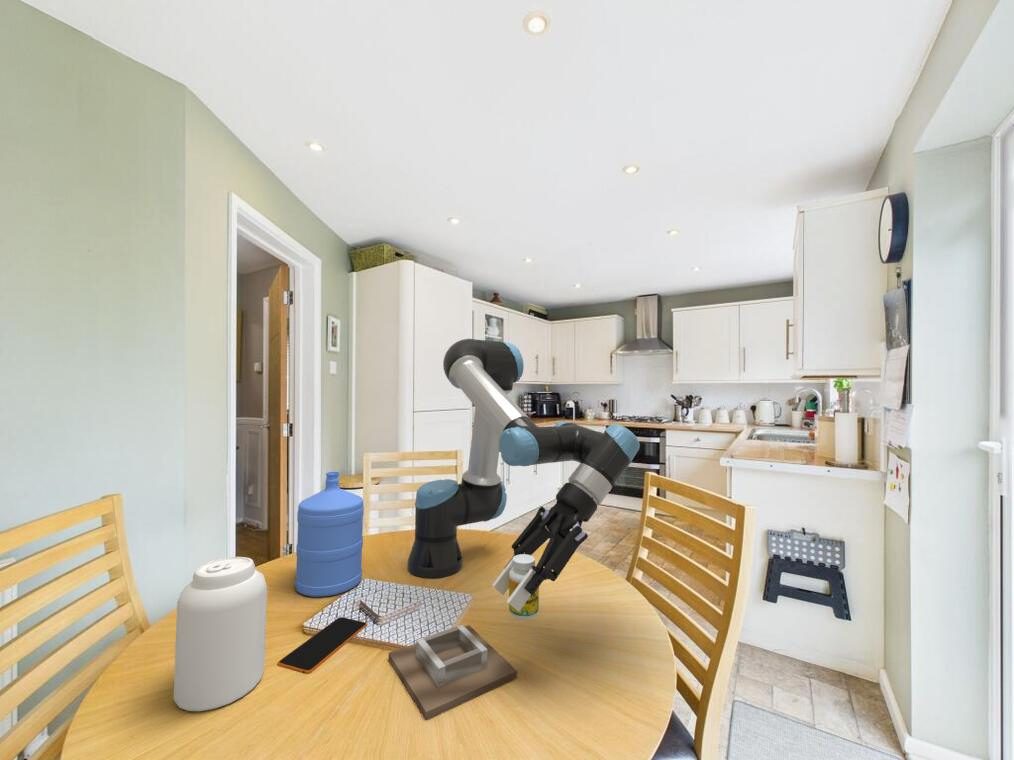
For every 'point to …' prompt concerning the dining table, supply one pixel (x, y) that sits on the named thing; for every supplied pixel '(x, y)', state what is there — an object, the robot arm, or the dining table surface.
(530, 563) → the supplement bottle
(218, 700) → the can
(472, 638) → the square framed base tray
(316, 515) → the water jug
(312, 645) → the smartphone
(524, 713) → the dining table surface
